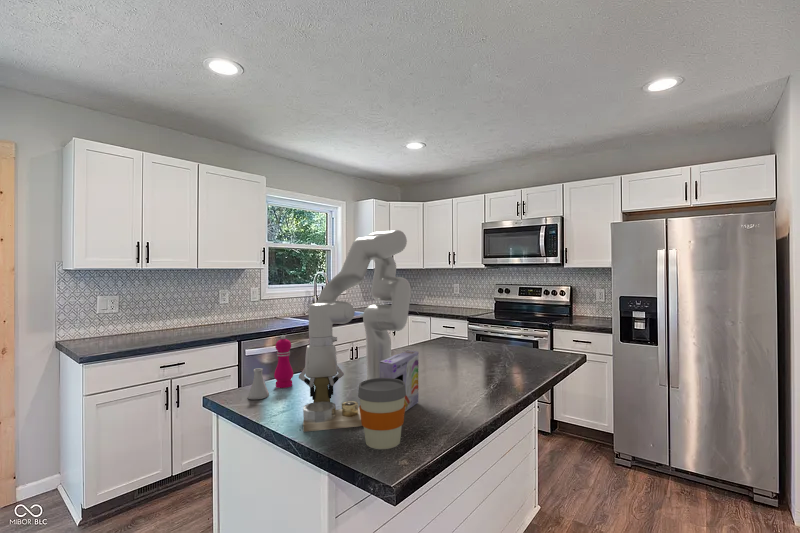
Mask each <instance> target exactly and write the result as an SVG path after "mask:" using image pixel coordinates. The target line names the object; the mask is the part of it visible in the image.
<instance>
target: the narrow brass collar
mask: <svg viewBox="0 0 800 533" xmlns="http://www.w3.org/2000/svg"><path fill="white" fill-rule="evenodd" d="M358 408H359V403H358V402H357V401H355V400H354V401H345V402H342V403H341V409H342V416H345V417H353V416H356V415H358Z"/></svg>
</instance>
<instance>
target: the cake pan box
mask: <svg viewBox="0 0 800 533" xmlns="http://www.w3.org/2000/svg"><path fill="white" fill-rule="evenodd" d="M380 378H393V379H399V380H402V381H403V382H404V383H405V389H406V396H405V399H404V404H405V413H406V412H407V411H408V410H410V409H411V408H413V407H414V406H415V405H417V404H418V403H419V351H416V350H412V349H411V350H409V349H406V350H405V351H402V352H400V353H397V354H394V355H391V357H390V358H388V359H385V360H383V361H380Z"/></svg>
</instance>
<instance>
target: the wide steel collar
mask: <svg viewBox="0 0 800 533" xmlns="http://www.w3.org/2000/svg"><path fill="white" fill-rule="evenodd" d="M336 408H337V407H336V403H333V402H331V401H330V402H325V401H322V402H314V401H313V402H310V403H307V404H306V405H304V406H303V409H302V410H303V413H302V414H303V420H305V421H307V422H311V423H320V422H326V421H330V420H332V419H334V418H335V417H336V410H337V409H336Z"/></svg>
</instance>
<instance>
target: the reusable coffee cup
mask: <svg viewBox="0 0 800 533" xmlns="http://www.w3.org/2000/svg"><path fill="white" fill-rule="evenodd" d="M357 394H358V395H357V396H358V398H359V402H360V405H358V408H359V409H360V416H361V423H362V426H361V427H363V432H364V439H365V444H366V446H367V447H369V448H371V449H375V450H389V449H393V448H395V447H397V446H399V445H400V444H401V438H402V437H401V436H402V427H403V425H404V423H405V422H404V421H405V413H406V412H405V404H404V399H405V396H406V389H405V383H404V382H403V381H402V380H399V379H393V378H375V379H369V380H367V379H365V380H362V381H361V382H360V383H359V384H358V391H357Z"/></svg>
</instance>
